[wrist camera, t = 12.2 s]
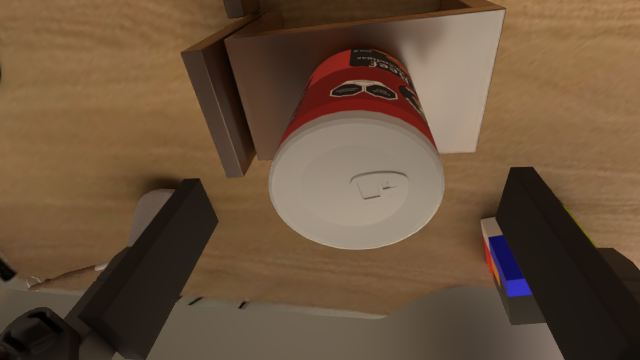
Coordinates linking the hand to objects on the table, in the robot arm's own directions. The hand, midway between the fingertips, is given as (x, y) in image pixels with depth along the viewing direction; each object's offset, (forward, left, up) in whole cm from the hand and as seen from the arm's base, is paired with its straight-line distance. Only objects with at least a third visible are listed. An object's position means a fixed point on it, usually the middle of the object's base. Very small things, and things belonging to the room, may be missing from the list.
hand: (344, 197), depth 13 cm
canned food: (0, 0, -12) cm, 12 cm away
